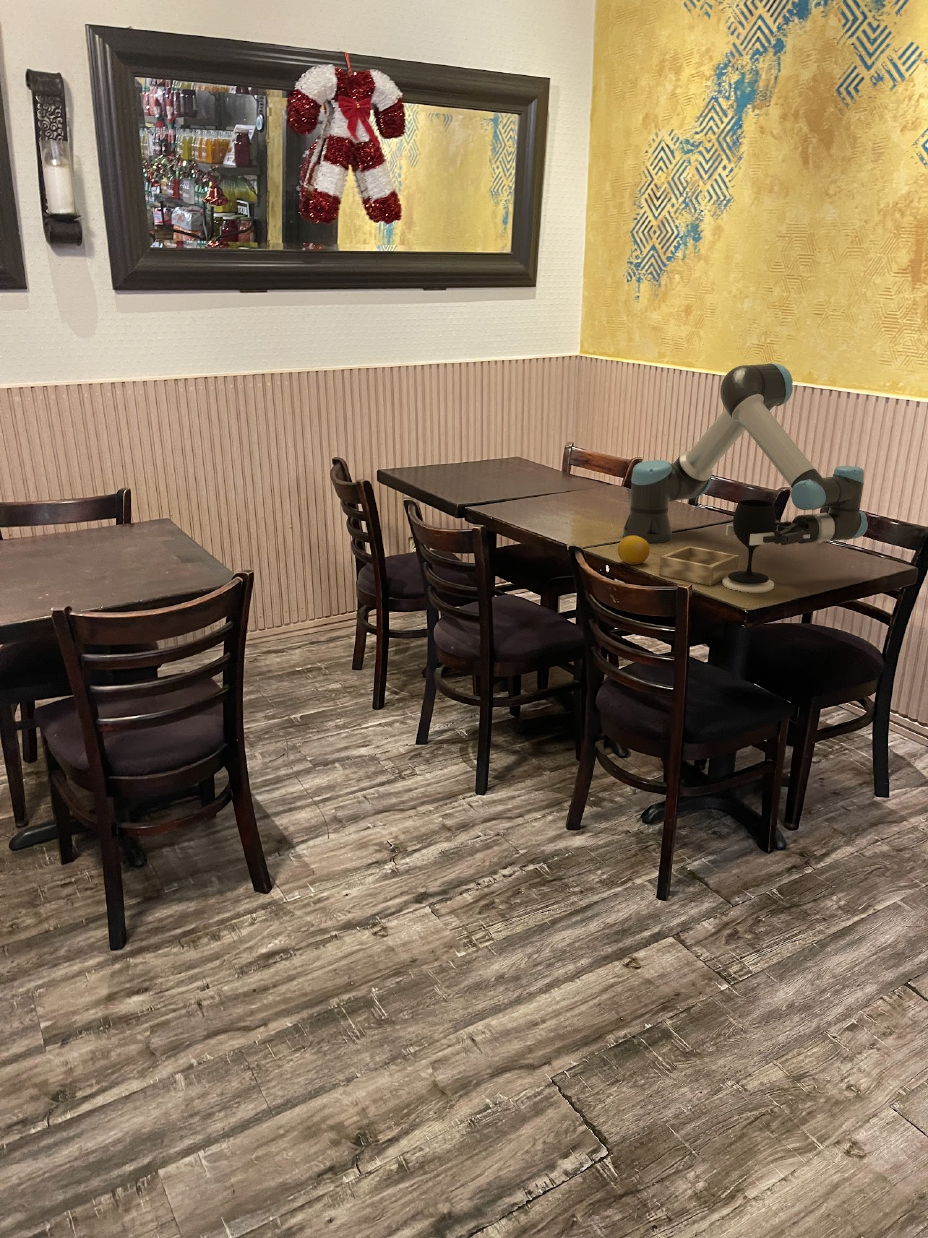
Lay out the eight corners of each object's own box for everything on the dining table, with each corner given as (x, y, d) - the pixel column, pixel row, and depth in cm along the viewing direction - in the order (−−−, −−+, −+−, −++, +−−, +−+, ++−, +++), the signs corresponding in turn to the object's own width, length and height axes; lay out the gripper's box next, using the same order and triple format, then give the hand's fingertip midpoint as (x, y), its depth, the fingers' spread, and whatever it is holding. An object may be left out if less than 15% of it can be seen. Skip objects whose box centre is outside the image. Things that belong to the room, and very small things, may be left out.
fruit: (632, 558, 275) (634, 531, 272) (654, 564, 269) (655, 536, 266) (611, 563, 270) (613, 535, 267) (632, 569, 264) (634, 541, 261)
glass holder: (658, 574, 259) (660, 556, 257) (687, 563, 270) (688, 545, 268) (710, 585, 249) (711, 567, 248) (737, 573, 260) (739, 555, 258)
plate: (713, 585, 249) (713, 582, 249) (736, 575, 258) (736, 571, 258) (759, 596, 241) (760, 592, 240) (782, 584, 250) (782, 581, 250)
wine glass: (768, 585, 243) (776, 508, 236) (726, 581, 246) (733, 505, 239) (769, 574, 252) (777, 500, 245) (729, 571, 255) (736, 497, 248)
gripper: (838, 552, 241) (763, 560, 235) (783, 532, 261) (713, 538, 255) (842, 523, 239) (766, 530, 232) (786, 505, 259) (715, 511, 252)
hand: (738, 534), depth 244 cm, fingers closed on wine glass, 10 cm apart
